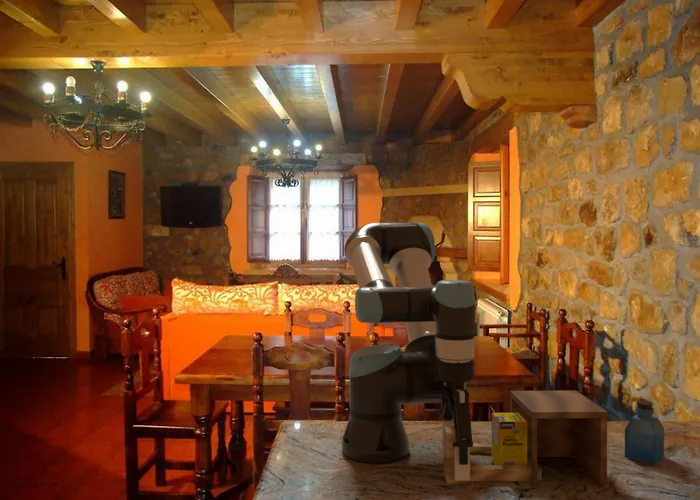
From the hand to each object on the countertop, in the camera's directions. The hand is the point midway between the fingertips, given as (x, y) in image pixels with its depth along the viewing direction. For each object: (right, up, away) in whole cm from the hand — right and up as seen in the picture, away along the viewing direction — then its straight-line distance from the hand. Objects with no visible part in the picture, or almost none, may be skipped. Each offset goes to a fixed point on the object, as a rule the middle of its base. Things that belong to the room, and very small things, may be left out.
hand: (455, 465), depth 111 cm
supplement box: (+12, -3, +5) cm, 13 cm away
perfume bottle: (+43, -3, +11) cm, 45 cm away
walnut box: (+22, -3, +5) cm, 22 cm away
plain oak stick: (+9, -3, +14) cm, 17 cm away
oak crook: (+7, -3, +4) cm, 9 cm away
